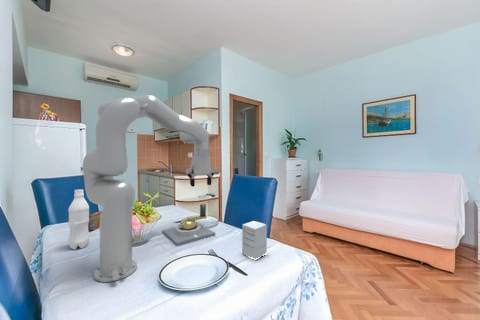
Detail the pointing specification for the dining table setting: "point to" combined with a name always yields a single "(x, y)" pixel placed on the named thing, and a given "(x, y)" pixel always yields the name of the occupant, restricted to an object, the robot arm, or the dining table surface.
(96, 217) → the tin
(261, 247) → the supplement box
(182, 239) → the base plate
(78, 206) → the water bottle
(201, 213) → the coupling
